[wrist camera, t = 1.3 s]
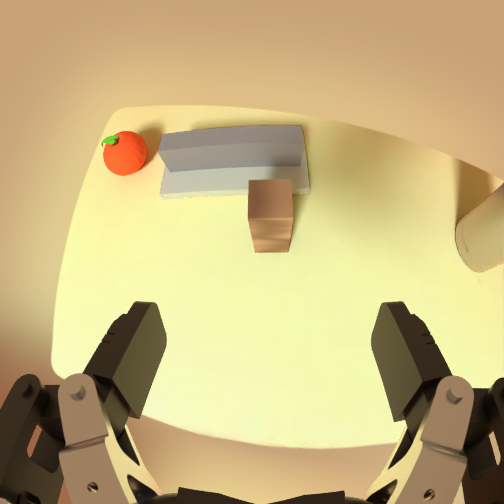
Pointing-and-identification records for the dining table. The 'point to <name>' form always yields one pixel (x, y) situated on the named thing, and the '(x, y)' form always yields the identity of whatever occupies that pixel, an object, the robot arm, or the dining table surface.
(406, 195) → the dining table surface
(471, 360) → the dining table surface
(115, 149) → the clementine
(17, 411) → the robot arm
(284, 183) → the walnut post
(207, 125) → the dining table surface
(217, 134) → the ridge stand
